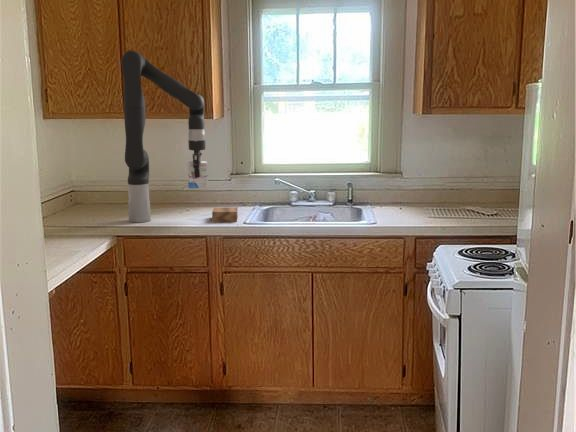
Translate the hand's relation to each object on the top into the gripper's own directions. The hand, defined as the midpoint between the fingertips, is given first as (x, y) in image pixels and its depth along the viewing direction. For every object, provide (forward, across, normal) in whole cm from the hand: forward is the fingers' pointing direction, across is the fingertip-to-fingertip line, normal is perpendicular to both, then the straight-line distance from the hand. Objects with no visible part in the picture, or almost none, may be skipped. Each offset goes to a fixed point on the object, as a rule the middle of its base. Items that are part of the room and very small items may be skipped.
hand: (197, 176), depth 264 cm
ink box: (+5, 0, 0) cm, 5 cm away
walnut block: (+20, 0, +12) cm, 24 cm away
